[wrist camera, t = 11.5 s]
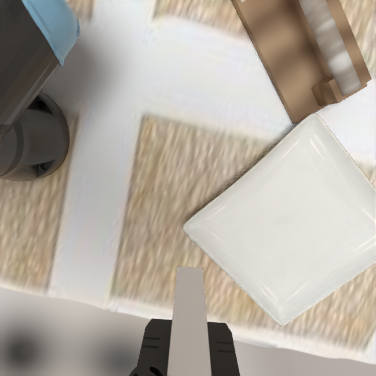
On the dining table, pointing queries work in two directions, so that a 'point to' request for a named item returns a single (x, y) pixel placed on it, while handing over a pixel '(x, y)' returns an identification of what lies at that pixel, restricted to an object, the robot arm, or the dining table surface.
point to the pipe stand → (305, 51)
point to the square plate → (292, 223)
